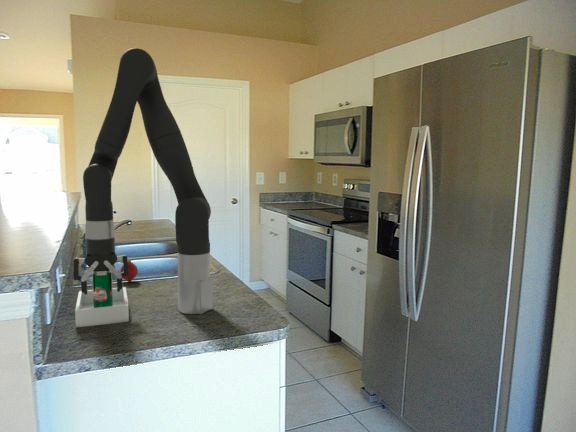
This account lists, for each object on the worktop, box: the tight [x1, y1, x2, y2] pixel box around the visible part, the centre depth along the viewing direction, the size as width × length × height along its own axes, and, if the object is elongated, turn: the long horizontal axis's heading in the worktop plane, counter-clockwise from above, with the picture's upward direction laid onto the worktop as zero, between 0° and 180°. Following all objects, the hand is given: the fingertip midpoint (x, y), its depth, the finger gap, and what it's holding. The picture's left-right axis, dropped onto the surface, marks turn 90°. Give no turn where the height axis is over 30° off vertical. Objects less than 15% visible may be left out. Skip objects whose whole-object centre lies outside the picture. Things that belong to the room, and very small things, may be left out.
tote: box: [74, 286, 130, 328], centre depth 127 cm, size 13×18×4 cm
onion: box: [119, 259, 139, 282], centre depth 158 cm, size 6×6×8 cm
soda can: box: [91, 270, 113, 308], centre depth 126 cm, size 5×5×12 cm
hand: (102, 292), depth 126 cm, fingers open, 8 cm apart
